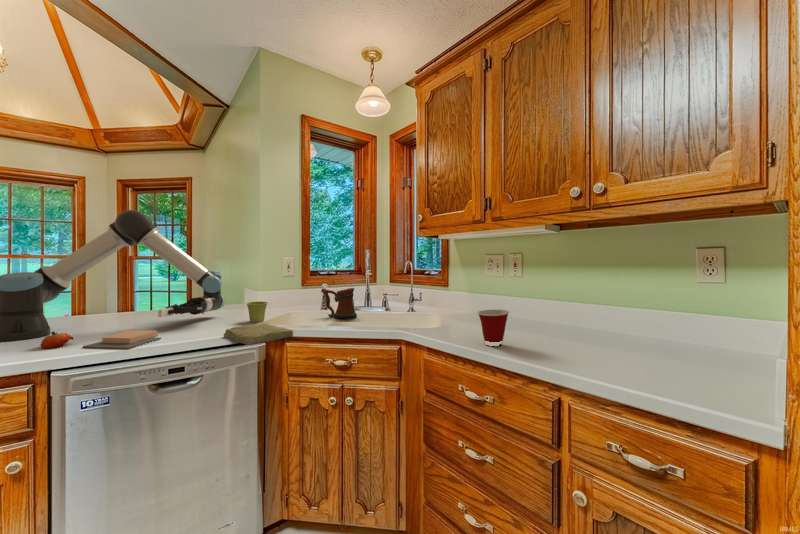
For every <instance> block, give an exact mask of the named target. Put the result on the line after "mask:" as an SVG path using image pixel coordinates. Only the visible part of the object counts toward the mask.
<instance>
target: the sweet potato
mask: <svg viewBox="0 0 800 534" xmlns="http://www.w3.org/2000/svg"><path fill="white" fill-rule="evenodd" d="M70 340H72V341H73V342H74V340H75V339H74V336H72V335H71V334H69V333H66V332H61V333H58V332H55V331H54V330H53V331H51V332H50V334H49V335H46V336H44V337H43V339H42V341H41V343H40V347H41V349H43V350H47V349H61V348H60V347H62V348H64V345H65V344H67V343H68V342H69V341H70Z"/></svg>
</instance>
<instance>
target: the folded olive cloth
mask: <svg viewBox="0 0 800 534" xmlns="http://www.w3.org/2000/svg"><path fill="white" fill-rule="evenodd" d="M223 337H224V338H227V339H231V340H232V341H234V342H236V343H238V344H239V343H240V344H244V345H246V346H252V345H257V344H263V343H268V342H272V341H277V340H281V339H287V338H291V337H294V330H293V329H290V328H289V329H288V328H286V327H281V326H277V325H273V324H272V325H271V324H268V323H258V324H256V323H255V324H254V323H253V324H246V325H242V326H234V327H233V326H232V327H231V328H226V330H225V332H224V333H223Z"/></svg>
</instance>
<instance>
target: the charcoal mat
mask: <svg viewBox="0 0 800 534" xmlns="http://www.w3.org/2000/svg"><path fill="white" fill-rule="evenodd" d="M158 339H161V340H162V337H153V338H150V339H146V340H143V341H140V342H136V343H133V344H105V343H102V340H100V341H98V342H94V343H89V344H85V345H82V349H99V348H101V349H102V350H103V349H104V350H105V349H106V350H107V349H109V350H131V349H135V348H137V347H136V346H138V347H140V346H139V345H141V346H143V345H142V344H144V345H146V344H145V343H148V344H150V343H149V342H151V343H153V342H152V341H154V342H156V341H155V340H157V341H159V340H158ZM134 347H135V348H134Z"/></svg>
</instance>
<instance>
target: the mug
mask: <svg viewBox="0 0 800 534" xmlns="http://www.w3.org/2000/svg"><path fill="white" fill-rule="evenodd" d="M354 291H355V287H350V288H346V289H340V290H337V291H334V290H329V289H325V288H321V290H320V292H321V293H323V294H324V295H325V299H326V300H325V307H326V308H327V309H328V310H330V312H331V313H328V314H327V316H328V317H329V318H334V319H338V320H352V319H356V318H357V317H358V314H357V313H356V311H355V307H354V300H353V299H354ZM329 294H333V295H334V298H333V299H334V301H335V303H338V304H337V308H336V310H335V309H334V308H333V307H332V306H331V297H330V295H329Z"/></svg>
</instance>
